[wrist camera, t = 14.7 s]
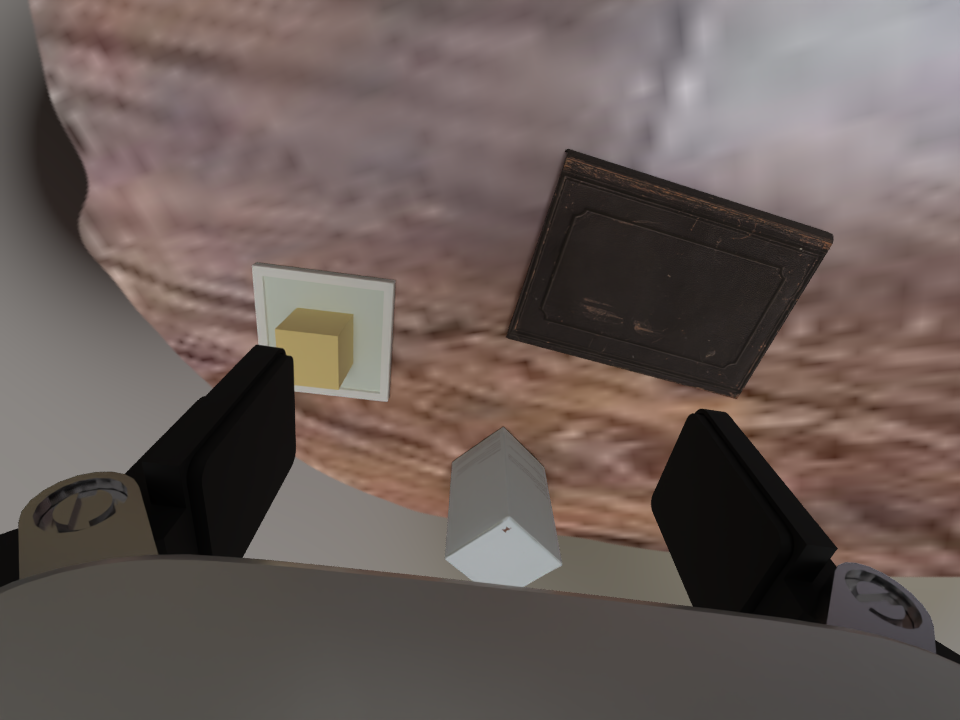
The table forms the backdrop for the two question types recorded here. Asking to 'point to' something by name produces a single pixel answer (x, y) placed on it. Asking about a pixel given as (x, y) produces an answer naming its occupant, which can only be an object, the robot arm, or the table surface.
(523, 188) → the table surface
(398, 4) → the table surface
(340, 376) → the ochre cube
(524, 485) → the supplement box
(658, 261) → the hardcover book
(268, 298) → the mat
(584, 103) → the table surface
